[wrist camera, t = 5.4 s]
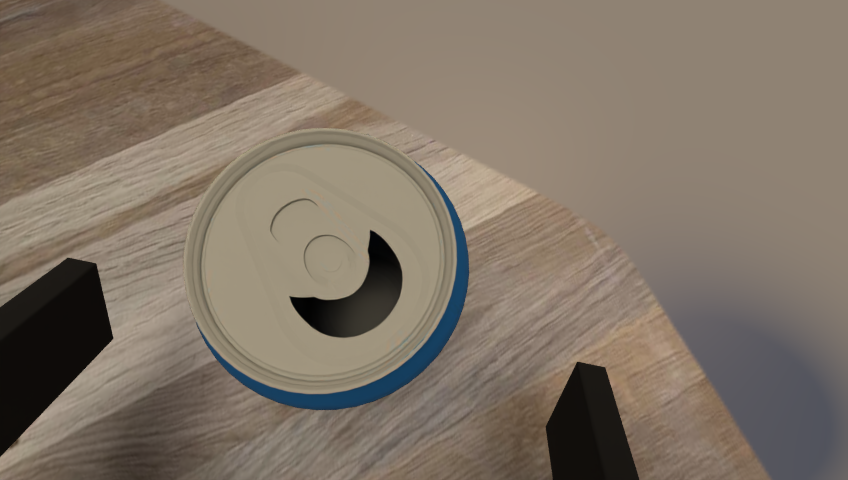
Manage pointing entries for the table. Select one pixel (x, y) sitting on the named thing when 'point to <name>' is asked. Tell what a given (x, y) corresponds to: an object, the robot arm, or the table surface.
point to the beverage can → (325, 268)
